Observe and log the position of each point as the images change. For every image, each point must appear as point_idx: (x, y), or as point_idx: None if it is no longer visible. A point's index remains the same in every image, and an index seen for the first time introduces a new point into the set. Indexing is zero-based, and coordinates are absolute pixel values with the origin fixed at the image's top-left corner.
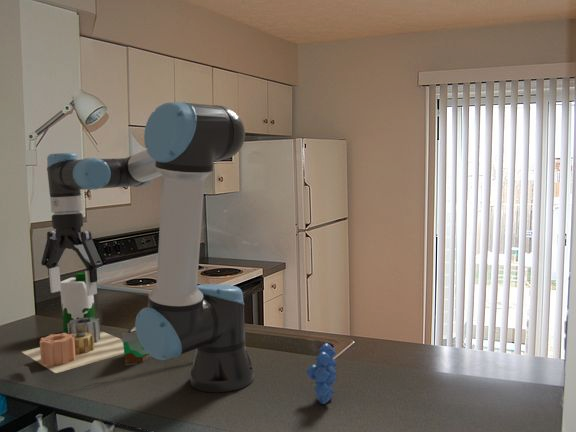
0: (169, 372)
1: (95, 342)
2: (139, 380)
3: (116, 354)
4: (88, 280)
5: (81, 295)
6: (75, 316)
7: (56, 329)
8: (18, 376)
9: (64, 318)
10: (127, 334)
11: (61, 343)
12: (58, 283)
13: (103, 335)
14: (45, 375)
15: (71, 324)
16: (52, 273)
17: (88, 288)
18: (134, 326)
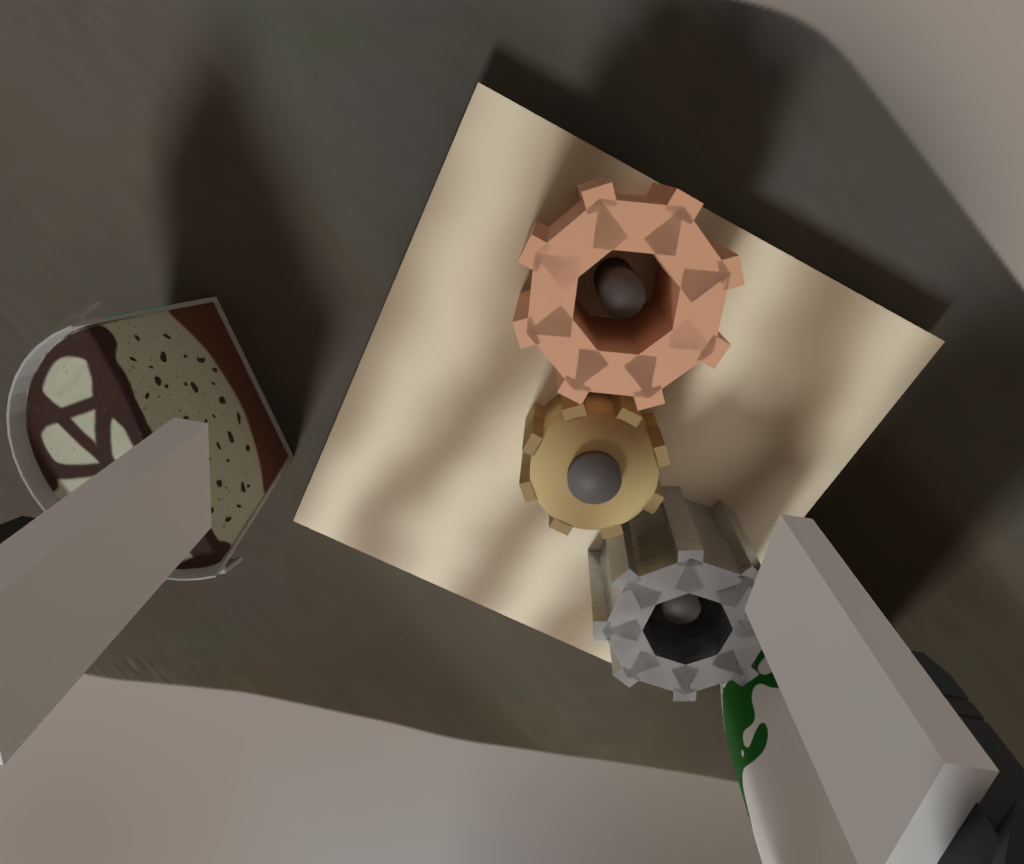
0: (5, 324)
1: (593, 548)
2: (53, 195)
3: (356, 420)
4: (51, 519)
5: (801, 830)
6: None
7: (986, 716)
8: (739, 60)
9: None
10: (49, 335)
11: (534, 234)
12: (783, 650)
13: None
14: (585, 120)
15: (728, 568)
16: (883, 707)
17: (123, 455)
18: None
